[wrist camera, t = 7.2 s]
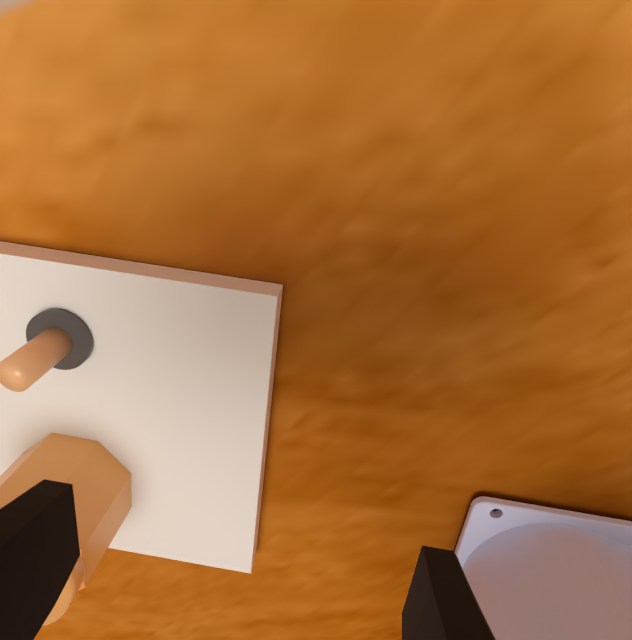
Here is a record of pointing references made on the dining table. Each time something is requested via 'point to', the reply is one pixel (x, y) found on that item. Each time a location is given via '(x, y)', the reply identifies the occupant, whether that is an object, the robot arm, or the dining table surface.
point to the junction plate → (146, 389)
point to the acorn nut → (76, 497)
